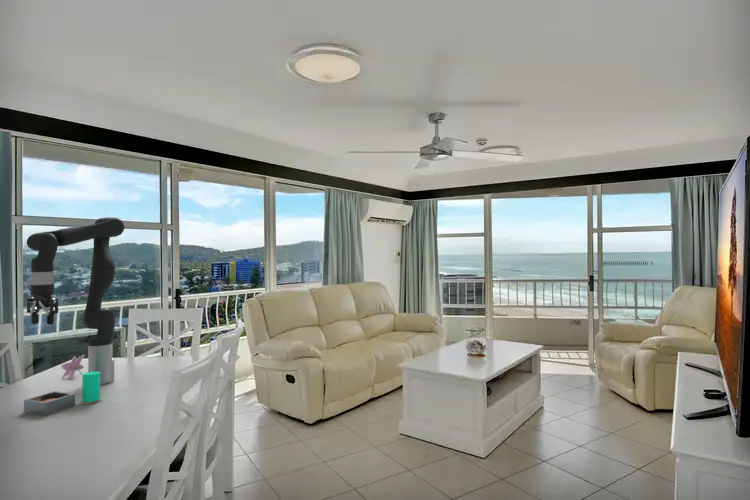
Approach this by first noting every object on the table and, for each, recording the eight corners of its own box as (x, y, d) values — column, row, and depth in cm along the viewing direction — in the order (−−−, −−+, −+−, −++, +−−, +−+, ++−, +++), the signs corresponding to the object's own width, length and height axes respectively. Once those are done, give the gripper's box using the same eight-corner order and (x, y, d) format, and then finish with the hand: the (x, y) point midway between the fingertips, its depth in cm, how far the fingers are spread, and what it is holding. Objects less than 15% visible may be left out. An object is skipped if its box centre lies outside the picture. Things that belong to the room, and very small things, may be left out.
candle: (91, 402, 166) (91, 371, 166) (78, 401, 167) (78, 370, 167) (104, 397, 172) (104, 367, 172) (91, 396, 173) (91, 366, 173)
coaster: (93, 397, 174) (93, 396, 174) (106, 399, 172) (106, 397, 172) (76, 403, 167) (76, 401, 167) (89, 405, 165) (89, 403, 165)
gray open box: (54, 402, 168) (54, 391, 168) (75, 405, 165) (75, 393, 165) (23, 412, 158) (23, 400, 158) (45, 415, 155) (45, 403, 155)
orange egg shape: (52, 404, 165) (52, 397, 165) (61, 405, 163) (61, 399, 163) (38, 408, 160) (38, 402, 160) (47, 410, 158) (47, 403, 158)
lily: (61, 377, 208) (53, 362, 203) (88, 363, 215) (80, 349, 211) (68, 389, 200) (60, 374, 196) (96, 375, 208) (88, 360, 203)
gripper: (64, 283, 173) (64, 323, 173) (39, 282, 178) (39, 322, 177) (45, 284, 166) (45, 326, 166) (19, 283, 170) (19, 324, 170)
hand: (42, 324), depth 172 cm, fingers open, 8 cm apart
